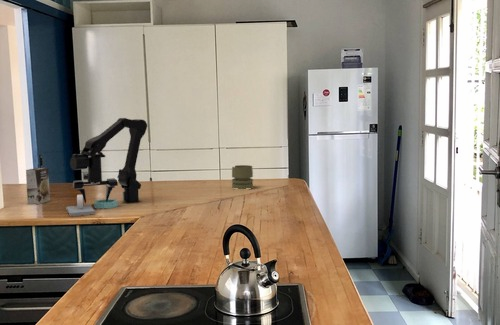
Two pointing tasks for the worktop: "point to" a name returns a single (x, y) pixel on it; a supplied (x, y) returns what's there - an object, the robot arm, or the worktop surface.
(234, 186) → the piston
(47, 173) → the coffee box
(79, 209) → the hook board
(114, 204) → the teal ring
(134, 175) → the robot arm
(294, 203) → the worktop surface
